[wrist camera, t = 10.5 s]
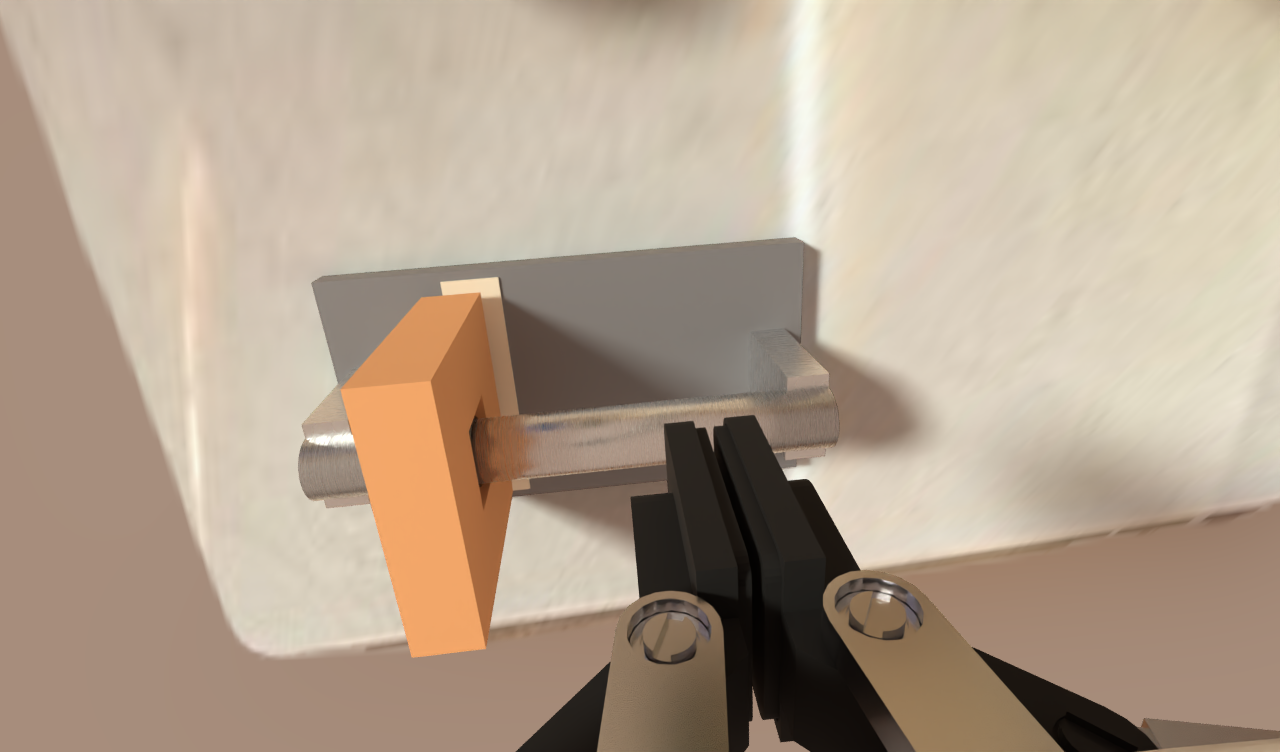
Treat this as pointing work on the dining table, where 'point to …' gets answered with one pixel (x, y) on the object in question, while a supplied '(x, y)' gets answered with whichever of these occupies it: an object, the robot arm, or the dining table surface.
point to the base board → (592, 327)
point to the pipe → (600, 428)
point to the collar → (433, 470)
